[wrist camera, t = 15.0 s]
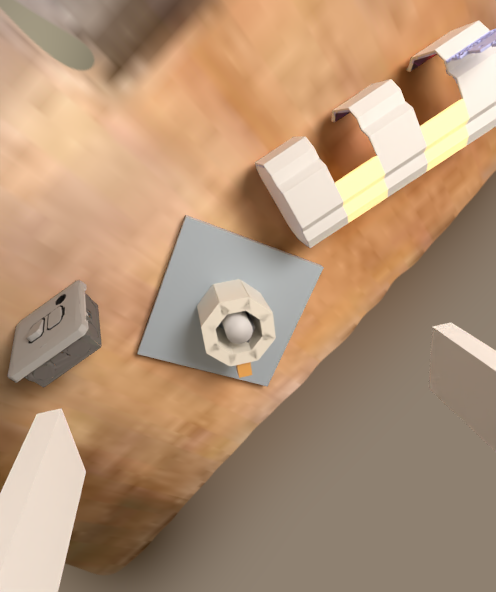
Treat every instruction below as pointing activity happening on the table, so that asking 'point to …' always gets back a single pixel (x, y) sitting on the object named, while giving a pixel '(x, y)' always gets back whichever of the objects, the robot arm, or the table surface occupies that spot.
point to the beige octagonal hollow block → (233, 300)
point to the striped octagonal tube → (386, 140)
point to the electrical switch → (55, 337)
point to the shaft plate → (215, 269)
